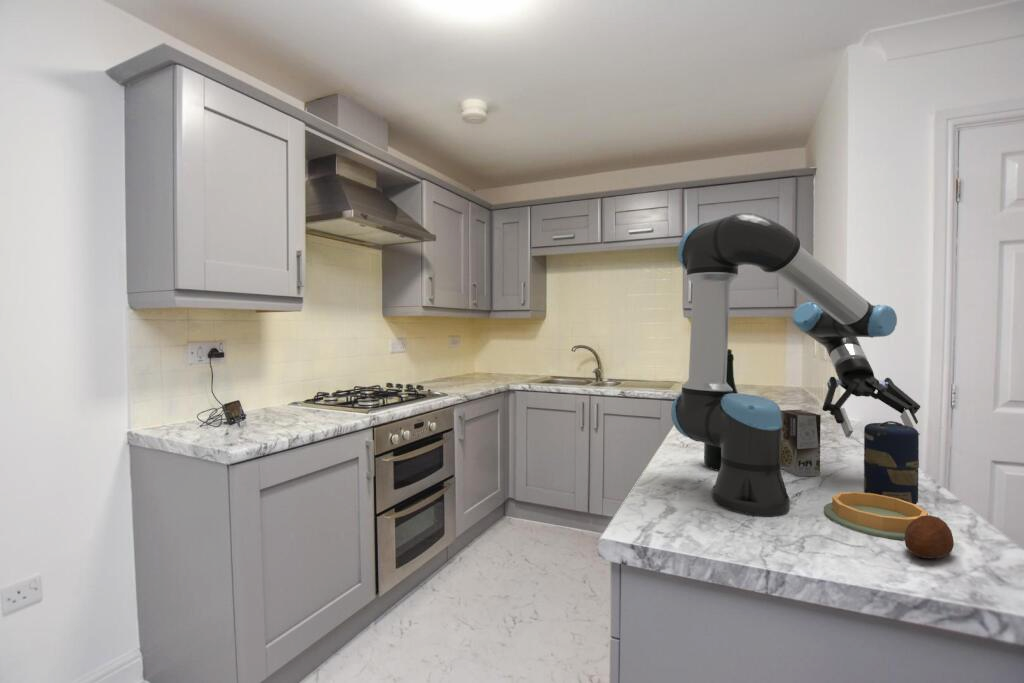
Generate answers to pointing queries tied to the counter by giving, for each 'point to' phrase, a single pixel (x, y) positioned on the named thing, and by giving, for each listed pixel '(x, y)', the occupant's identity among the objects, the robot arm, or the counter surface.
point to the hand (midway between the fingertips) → (882, 435)
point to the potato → (929, 537)
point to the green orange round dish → (873, 514)
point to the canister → (891, 460)
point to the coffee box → (800, 442)
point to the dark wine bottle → (712, 452)
